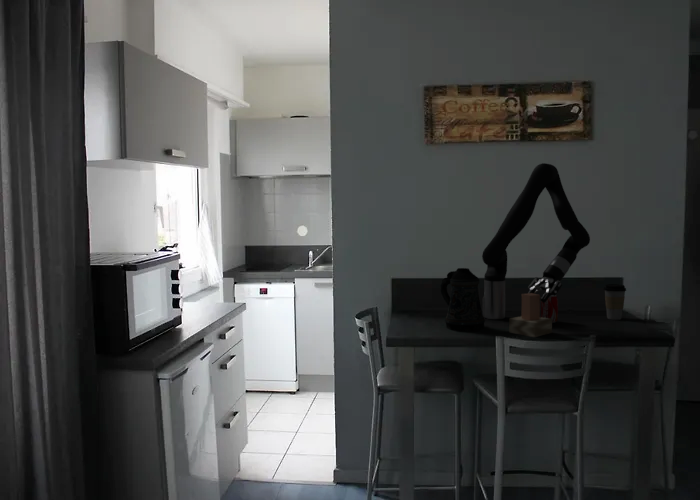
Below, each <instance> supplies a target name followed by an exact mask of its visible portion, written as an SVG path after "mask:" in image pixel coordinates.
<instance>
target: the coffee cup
mask: <svg viewBox="0 0 700 500" xmlns="http://www.w3.org/2000/svg"><path fill="white" fill-rule="evenodd" d="M603 290H604V299H605V308H606V318H607V319H608V320H613V321H617V320H618V321H619V320H622V316H623V309H624V306H625V305H624V303H625V299H626V297H625V293H626V291H627V288H626V287H625V285H624V284H619V283H618V284H617V283H616V284H615V283H612V284H610V283H609V284H607V283H606V284H605V286H604V287H603Z"/></svg>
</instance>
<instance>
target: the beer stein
mask: <svg viewBox="0 0 700 500" xmlns="http://www.w3.org/2000/svg"><path fill="white" fill-rule="evenodd" d="M479 284H480V278H479V277H478V276H477V275H476V274H474V273H473V272H472V271H471V270H470V268H466V267H459V268H457V269H456V270H453V271H450V272H448V273H447V274H446V277H445V278H443V279H442V280H441V283H440V286H439V288H440V293H441V297H442V299H443V301H444V302H445V303H446V304H447V306H448V310H447V314H446V316H445V327H446V329H448V330H451V331H457V332H458V331H459V332H478V331H482V330H484V329H485V321H486V320H485V319H486V318H484V317H483V309H482V307H481V306H482V305H481V299H480V294H479ZM448 285H451V288H450V295H449V293H448Z"/></svg>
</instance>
